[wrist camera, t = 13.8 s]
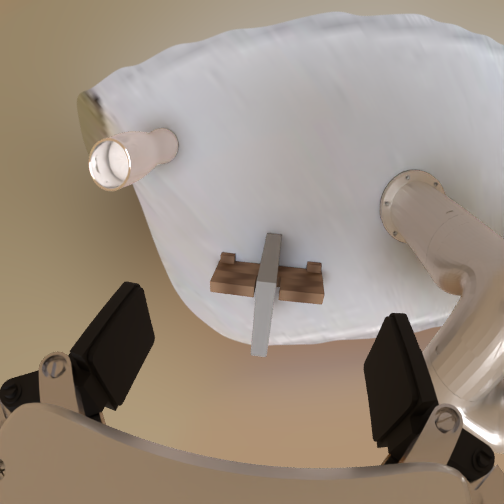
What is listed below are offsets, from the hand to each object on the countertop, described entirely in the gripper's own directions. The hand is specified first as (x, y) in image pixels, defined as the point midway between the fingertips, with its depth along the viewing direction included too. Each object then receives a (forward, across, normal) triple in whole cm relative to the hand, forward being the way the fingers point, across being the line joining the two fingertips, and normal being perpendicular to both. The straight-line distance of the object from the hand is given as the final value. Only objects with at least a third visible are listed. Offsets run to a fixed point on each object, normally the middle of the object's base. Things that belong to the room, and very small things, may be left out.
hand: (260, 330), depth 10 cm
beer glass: (+34, +20, -2) cm, 40 cm away
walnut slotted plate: (+34, +1, +19) cm, 39 cm away
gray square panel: (+34, +1, +19) cm, 39 cm away
